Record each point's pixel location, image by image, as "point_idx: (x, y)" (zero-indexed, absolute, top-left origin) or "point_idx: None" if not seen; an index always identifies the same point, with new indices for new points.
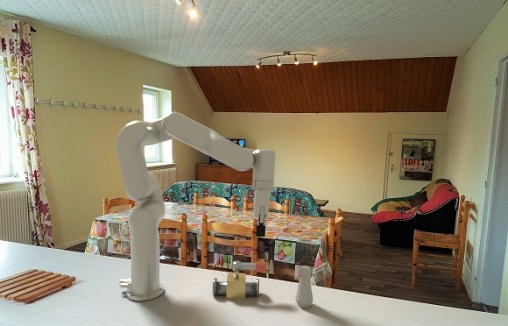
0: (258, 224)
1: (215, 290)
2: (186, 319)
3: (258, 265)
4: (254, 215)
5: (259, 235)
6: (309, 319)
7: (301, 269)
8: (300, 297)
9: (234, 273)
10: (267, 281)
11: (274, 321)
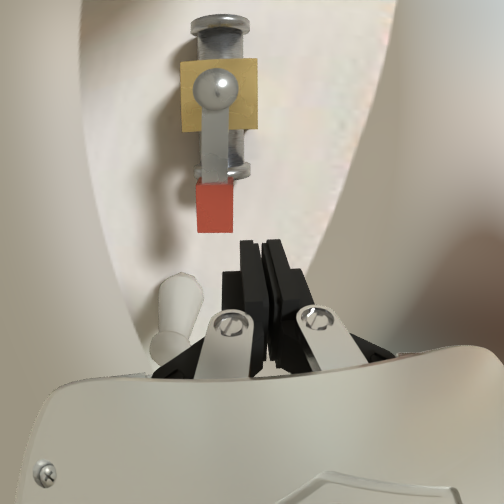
0: (208, 335)
1: (191, 33)
2: (87, 11)
3: (196, 196)
4: (38, 415)
5: (240, 268)
6: (126, 288)
7: (155, 348)
8: (160, 292)
9: None
10: (317, 197)
11: (99, 215)
